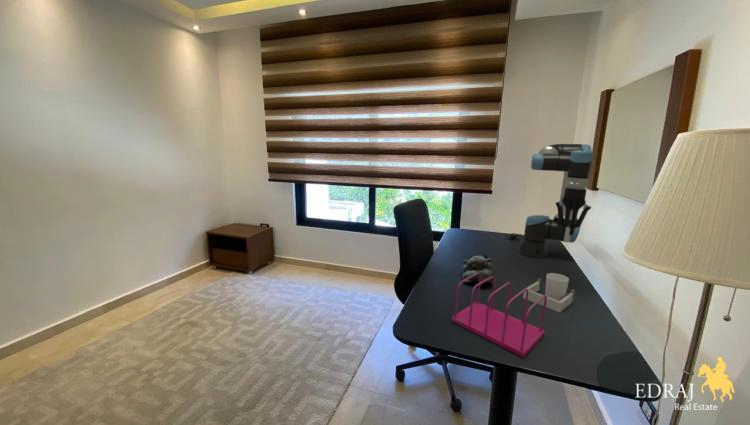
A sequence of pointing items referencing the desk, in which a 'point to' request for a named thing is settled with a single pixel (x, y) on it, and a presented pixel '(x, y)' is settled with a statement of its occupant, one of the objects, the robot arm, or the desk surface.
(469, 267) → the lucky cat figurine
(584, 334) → the desk surface
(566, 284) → the white cup
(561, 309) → the open u-shaped frame
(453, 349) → the desk surface
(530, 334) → the file sorter
